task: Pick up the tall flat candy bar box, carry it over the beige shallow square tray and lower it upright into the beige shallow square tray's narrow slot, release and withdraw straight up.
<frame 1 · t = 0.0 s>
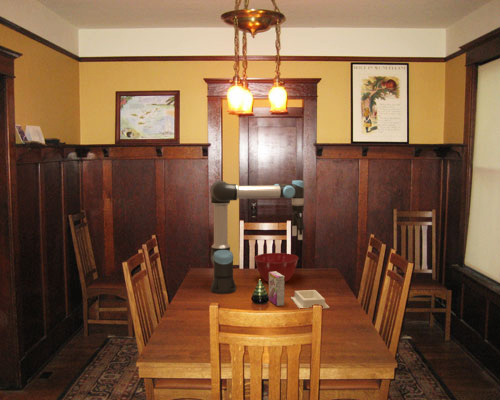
hand: (297, 237, 299), 28 cm above the table, fingers open, 13 cm apart
candy bar box: (276, 303, 257), on the table
beige shallow square tray: (309, 302, 257), on the table
mixing bowl: (276, 280, 301), on the table
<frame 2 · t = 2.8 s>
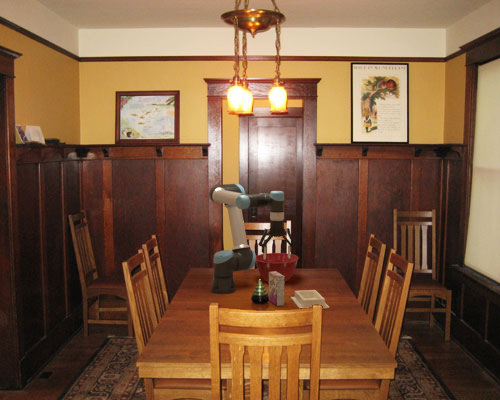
hand: (276, 258, 254), 25 cm above the table, fingers open, 13 cm apart
nothing on the table moved.
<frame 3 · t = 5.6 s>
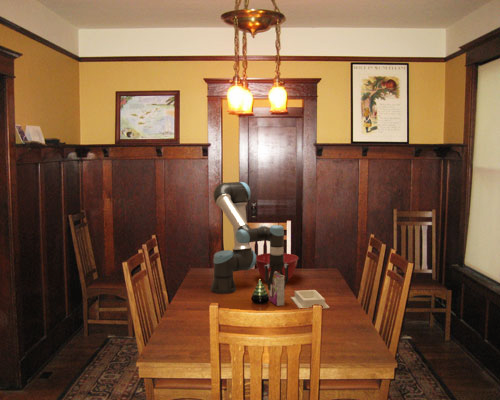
hand: (276, 295, 257), 4 cm above the table, fingers closed on candy bar box, 6 cm apart
candy bar box: (276, 303, 257), on the table, touching gripper
everything else where it was.
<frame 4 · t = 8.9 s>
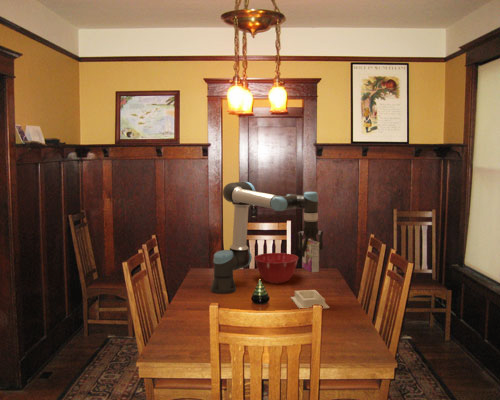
hand: (310, 262, 255), 23 cm above the table, fingers closed on candy bar box, 6 cm apart
candy bar box: (310, 270, 255), point 18 cm above the table, touching gripper
everything else where it was.
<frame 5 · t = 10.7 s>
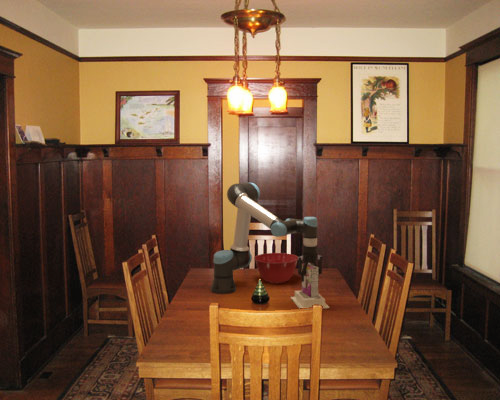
hand: (309, 286, 256), 9 cm above the table, fingers closed on candy bar box, 6 cm apart
candy bar box: (309, 294, 257), point 5 cm above the table, touching gripper
everything else where it was.
when the fingers open (6 cm above the table, at t = 12.3 s): candy bar box drops 1 cm, resting on beige shallow square tray.
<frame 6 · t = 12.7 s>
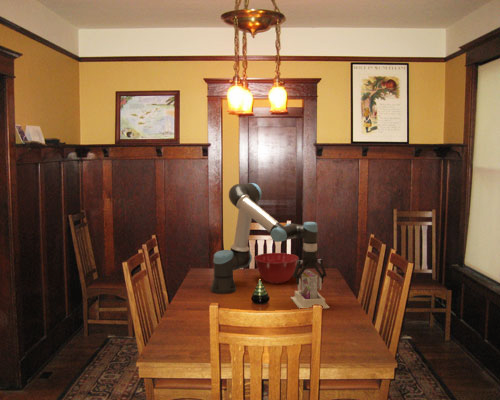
hand: (309, 289, 257), 8 cm above the table, fingers open, 11 cm apart
candy bar box: (309, 302, 257), resting on beige shallow square tray
everything else where it was.
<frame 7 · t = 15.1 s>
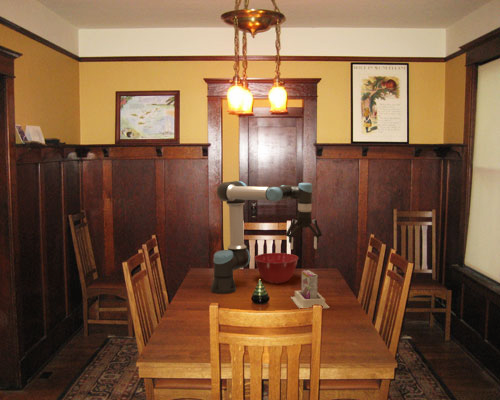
hand: (303, 248, 260), 29 cm above the table, fingers open, 13 cm apart
nothing on the table moved.
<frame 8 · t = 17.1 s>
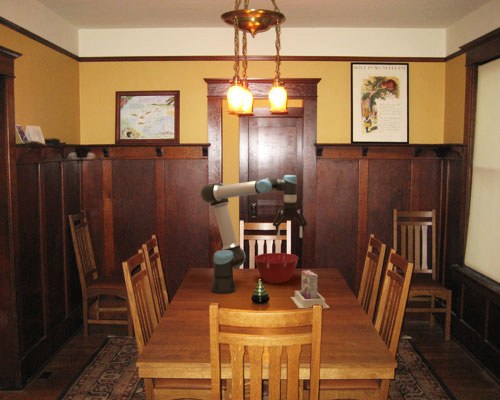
hand: (289, 237, 273), 33 cm above the table, fingers open, 13 cm apart
nothing on the table moved.
at the end: candy bar box inside the target area on the beige shallow square tray (0.2 cm from its centre), point 0.4 cm above the beige shallow square tray's base; candy bar box tilted 0°; the gripper is holding nothing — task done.
